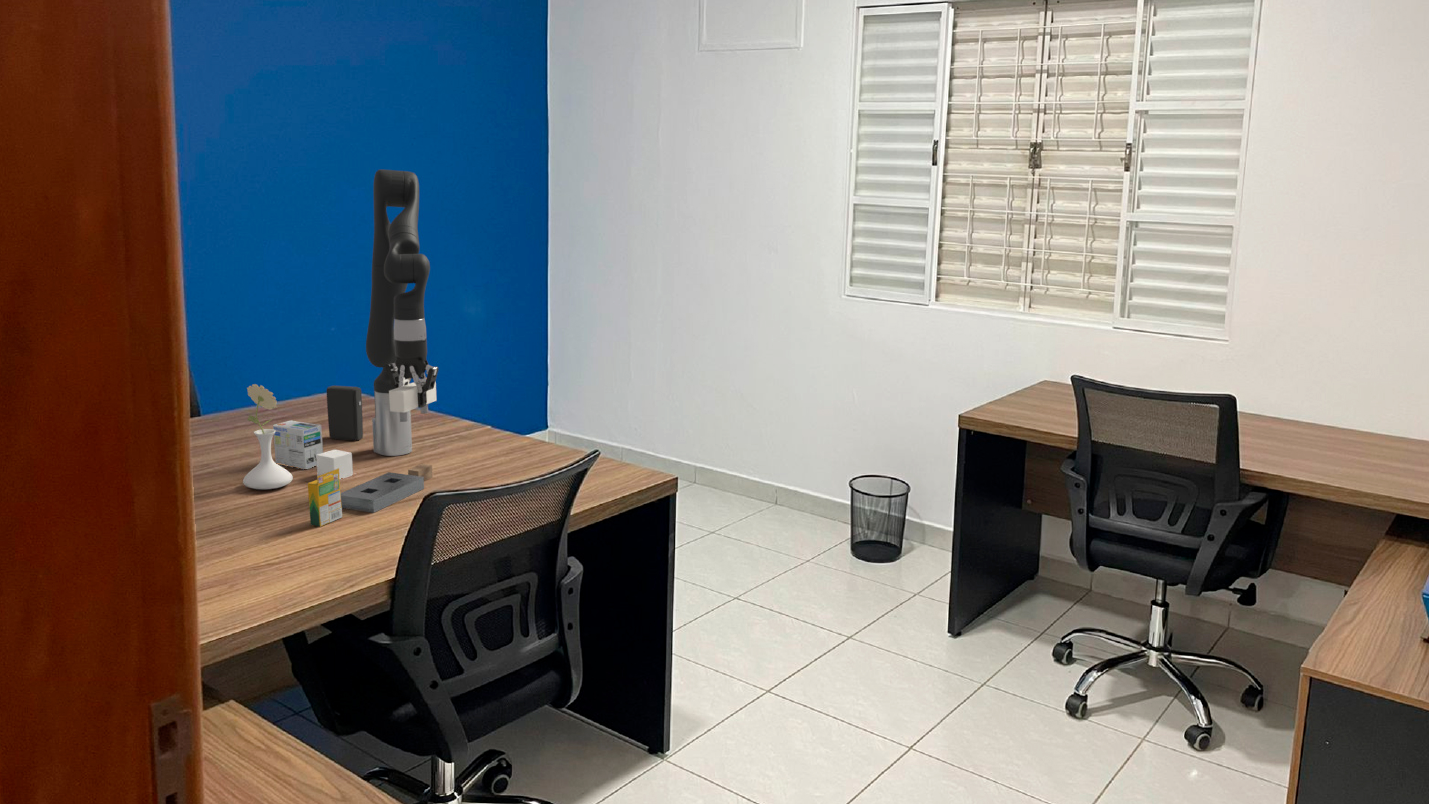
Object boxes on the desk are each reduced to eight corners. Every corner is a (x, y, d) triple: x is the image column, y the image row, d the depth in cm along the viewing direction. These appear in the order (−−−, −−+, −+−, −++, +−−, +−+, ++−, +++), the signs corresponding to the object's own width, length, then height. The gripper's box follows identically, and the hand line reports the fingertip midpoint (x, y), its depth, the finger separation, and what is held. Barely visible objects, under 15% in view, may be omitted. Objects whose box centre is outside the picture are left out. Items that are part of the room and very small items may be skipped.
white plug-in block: (405, 424, 274) (403, 388, 272) (390, 422, 275) (388, 387, 273) (437, 411, 287) (435, 377, 285) (423, 410, 288) (421, 376, 286)
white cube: (334, 481, 284) (333, 458, 283) (317, 477, 287) (316, 454, 286) (353, 475, 290) (351, 452, 288) (335, 471, 292) (334, 449, 291)
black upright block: (365, 438, 324) (363, 386, 321) (358, 441, 321) (356, 389, 317) (335, 436, 326) (332, 384, 323) (328, 439, 322) (325, 387, 319)
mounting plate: (373, 512, 262) (373, 500, 261) (337, 507, 265) (336, 494, 264) (424, 488, 280) (423, 476, 279) (389, 483, 283) (388, 472, 282)
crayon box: (332, 515, 259) (329, 466, 256) (342, 517, 258) (340, 468, 255) (309, 525, 252) (306, 474, 250) (320, 527, 251) (317, 476, 249)
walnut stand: (418, 483, 284) (418, 471, 283) (408, 482, 285) (407, 469, 284) (432, 477, 289) (432, 465, 289) (422, 475, 290) (421, 463, 290)
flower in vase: (301, 487, 279) (295, 386, 274) (255, 496, 271) (248, 393, 266) (277, 475, 288) (271, 378, 282) (232, 484, 280) (224, 384, 275)
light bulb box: (324, 464, 299) (322, 424, 296) (305, 470, 293) (303, 429, 290) (293, 458, 303) (291, 419, 301) (274, 465, 297) (271, 424, 295)
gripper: (375, 337, 275) (379, 407, 279) (427, 341, 271) (430, 412, 275) (394, 332, 282) (397, 400, 286) (444, 336, 278) (447, 405, 282)
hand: (413, 405), depth 280 cm, fingers closed on white plug-in block, 4 cm apart
